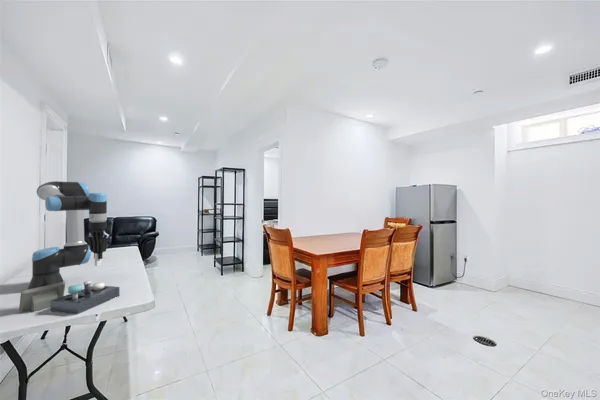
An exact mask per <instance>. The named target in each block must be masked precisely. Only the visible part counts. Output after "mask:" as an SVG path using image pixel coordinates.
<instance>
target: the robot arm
mask: <svg viewBox="0 0 600 400" xmlns="http://www.w3.org/2000/svg"><path fill="white" fill-rule="evenodd" d="M36 195H37V197H38V198H39V199H41V200H43V201H44V202H45V203H44V204H45V205H44V208H45V210H46V211H48V212H62V211H63V212H65V221H66V225H65V226H66V228H65V229H66V243H65V244H64V245H63V248H60V247H59V246H53V247H51V246H50V247H46V248H42V249H39V250H36V251H34V252H33V253H32V258H31V261H32V262H31V264H32V265H31V267H32V269H31V270H32V273H31V275H32V276H31V280H30V281H29V284H28V286H27V287H28V289H27V290H29V289H34V288H38V287H43V286H47V285H52V284H56V283H61V282H65V281H64V279H63V277H62V274H61V271H60V270H61V268H66V267H67V268H68V267H73V266H80V265H84V264H87V263H89V262H90V259H91V256H92V253H93V260H94V266H100V265H101V266H102V264H103V253H105V252H107V247H108V245H109V244H108V243H109V239H110V237H111V234H110V233H107V232H106V231H107V230H106V229H107V227H108V226H107V225H108V224H107V223H108V222H107V220H108V213H107V212H108V210H107V207H108V206H107V205H108V203H107V201H108V198H107V194H106V193H105V192H90V189H89V186H88V185H87V184H86V183H85V182H80V181H58V180H57V181H55V180H53V181H48V182H45V183H43V184H40V185H39V186H38V187H37V189H36ZM84 211H88V221H89V222H88V229H89V230H90V231H89V233H86V235H85V219H84V218H85V216H84V214H85V212H84ZM85 236H86V238H87V242H88V243H87V242H86V240H85Z"/></svg>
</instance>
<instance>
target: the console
mask: <svg viewBox="0 0 600 400" xmlns="http://www.w3.org/2000/svg"><path fill="white" fill-rule="evenodd" d="M104 287H105V288H104V289H101V291H98V292H96V290H93V285H92V286H91V285H90V294H84V288H82V291H80V292H78V299H77V300H75V301H73V298H72V293H68V294H65V295H64V296H63V297H60V298H57V299H54V300H51V307H50V312H54V313H55V312H56V313H66V314H74V315H75V314H76V315H79V314H81V313H83V312H86V311H88V310H90V309H93V308H95V307H98V306H99V305H102V304H104V303H107V302H109V301H111V300H113V298H114V299H116V298H119V297H120V286H112V285H110V286H109V285H104ZM115 297H116V298H115Z"/></svg>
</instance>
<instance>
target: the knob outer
mask: <svg viewBox="0 0 600 400" xmlns="http://www.w3.org/2000/svg"><path fill="white" fill-rule="evenodd" d="M67 289H68V290H67V293H68V294H71V293H72V298H73V301H75V300H77V299H78V292H80V291H82V290H83V285H82V284H75V285H74V284H73V285H70V286H68V287H67Z"/></svg>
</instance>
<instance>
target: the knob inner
mask: <svg viewBox="0 0 600 400" xmlns="http://www.w3.org/2000/svg"><path fill="white" fill-rule="evenodd" d="M92 286H93V290H96V292H98V291H101V289H104V288H105V287H104V286H105V282H103V281H102V282H96V283H93V284H92Z"/></svg>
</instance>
